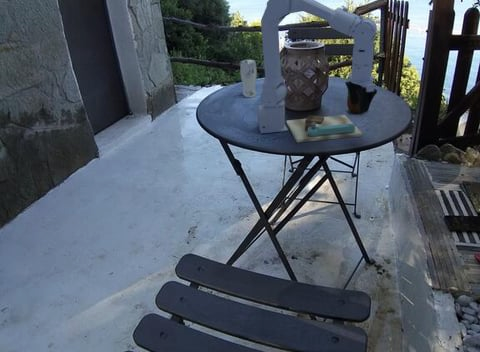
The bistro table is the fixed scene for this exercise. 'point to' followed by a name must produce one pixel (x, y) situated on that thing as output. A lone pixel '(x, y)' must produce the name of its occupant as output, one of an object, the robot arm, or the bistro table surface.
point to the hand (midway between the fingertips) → (359, 107)
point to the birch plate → (302, 135)
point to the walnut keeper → (313, 119)
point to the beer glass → (248, 77)
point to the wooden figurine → (353, 106)
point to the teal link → (330, 129)
